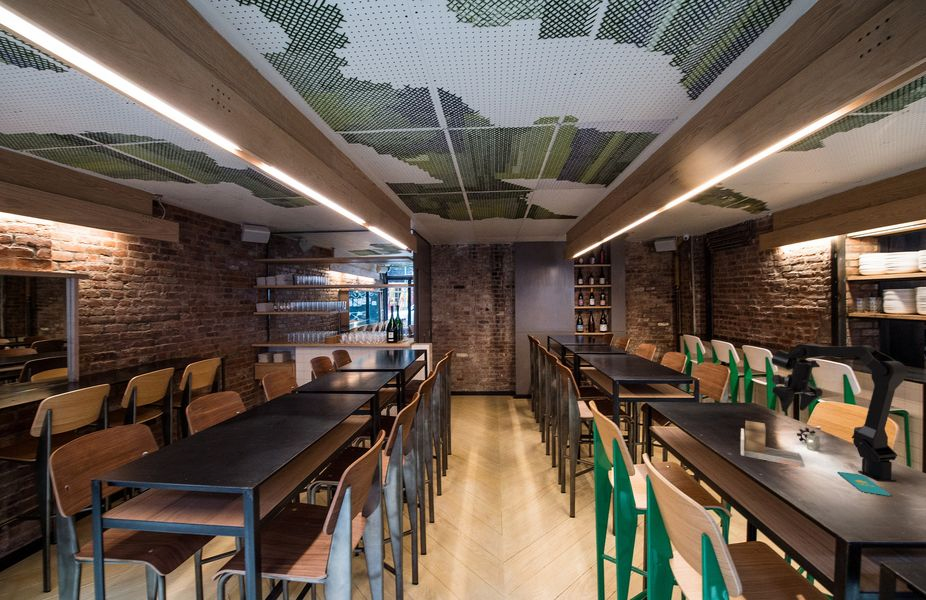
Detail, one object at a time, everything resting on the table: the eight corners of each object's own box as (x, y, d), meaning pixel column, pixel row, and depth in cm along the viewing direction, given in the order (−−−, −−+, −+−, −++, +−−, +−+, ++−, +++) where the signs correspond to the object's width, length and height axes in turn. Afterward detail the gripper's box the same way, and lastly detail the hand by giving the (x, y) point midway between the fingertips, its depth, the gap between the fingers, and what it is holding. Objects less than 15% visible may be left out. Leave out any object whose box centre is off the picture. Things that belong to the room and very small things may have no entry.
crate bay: (799, 455, 149) (800, 438, 149) (805, 469, 137) (805, 450, 137) (740, 444, 160) (741, 428, 160) (740, 456, 148) (741, 439, 148)
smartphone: (861, 491, 122) (836, 470, 136) (861, 493, 122) (836, 473, 136) (892, 496, 119) (863, 474, 133) (892, 498, 119) (863, 477, 133)
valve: (825, 455, 150) (817, 445, 161) (826, 438, 150) (817, 429, 161) (803, 451, 154) (796, 441, 164) (803, 434, 153) (796, 426, 164)
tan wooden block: (764, 450, 152) (764, 423, 152) (764, 456, 147) (765, 428, 147) (744, 446, 156) (745, 420, 156) (745, 452, 150) (745, 424, 150)
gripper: (797, 366, 165) (789, 400, 168) (762, 367, 161) (755, 403, 164) (827, 376, 155) (818, 413, 158) (790, 378, 150) (782, 416, 153)
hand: (792, 410), depth 159 cm, fingers open, 9 cm apart
